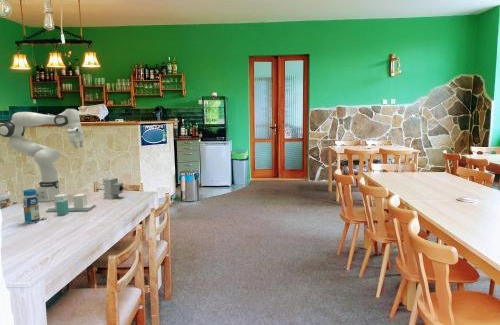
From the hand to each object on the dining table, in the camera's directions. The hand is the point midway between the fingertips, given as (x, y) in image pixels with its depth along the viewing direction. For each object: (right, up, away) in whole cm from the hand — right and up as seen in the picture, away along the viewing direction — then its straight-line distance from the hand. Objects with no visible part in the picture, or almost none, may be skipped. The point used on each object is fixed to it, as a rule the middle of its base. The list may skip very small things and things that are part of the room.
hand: (79, 147), depth 301 cm
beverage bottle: (-4, -48, -57) cm, 75 cm away
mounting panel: (+7, -43, -27) cm, 52 cm away
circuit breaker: (+25, -39, +7) cm, 47 cm away
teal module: (+7, -45, -40) cm, 61 cm away
